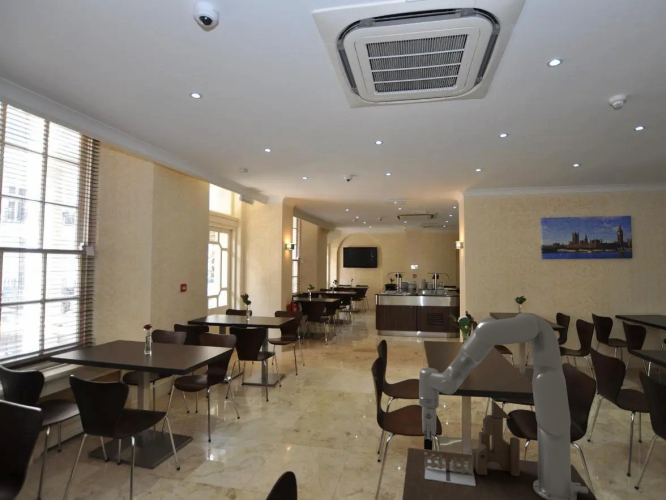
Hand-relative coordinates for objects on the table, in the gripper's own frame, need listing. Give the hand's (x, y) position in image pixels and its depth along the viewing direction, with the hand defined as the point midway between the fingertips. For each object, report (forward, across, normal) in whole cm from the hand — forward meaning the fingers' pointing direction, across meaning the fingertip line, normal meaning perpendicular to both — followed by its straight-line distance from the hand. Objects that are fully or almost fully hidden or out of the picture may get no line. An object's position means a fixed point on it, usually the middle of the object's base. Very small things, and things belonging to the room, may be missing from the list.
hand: (428, 448), depth 150 cm
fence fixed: (+4, -7, -12) cm, 14 cm away
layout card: (+4, -7, -8) cm, 11 cm away
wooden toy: (+4, -2, -24) cm, 25 cm away
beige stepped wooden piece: (+4, -7, -3) cm, 8 cm away
